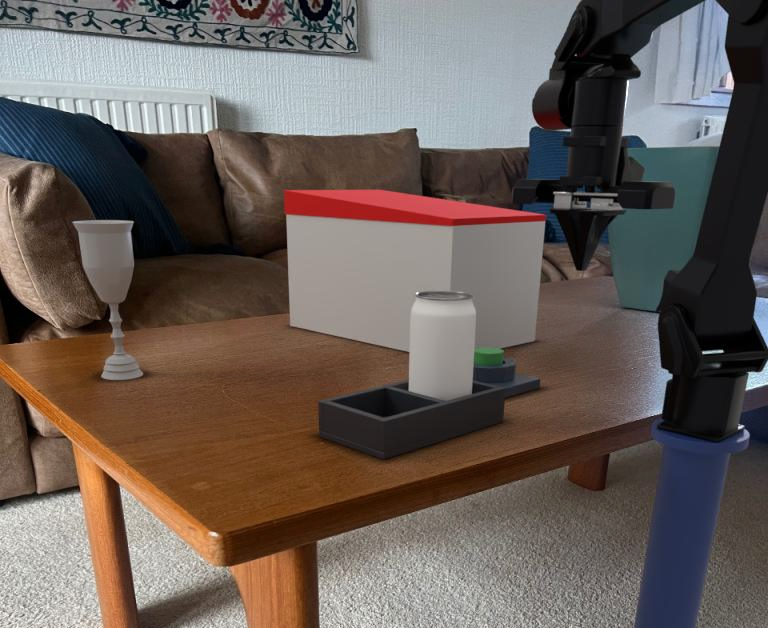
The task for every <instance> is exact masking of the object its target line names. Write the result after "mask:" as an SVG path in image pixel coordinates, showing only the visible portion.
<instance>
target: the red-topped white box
mask: <svg viewBox="0 0 768 628" xmlns="http://www.w3.org/2000/svg"><path fill="white" fill-rule="evenodd" d="M283 196H284V197H283V198H284V199H283V201H284V215H285V216H286V217H285V218H286V243H287V247H286V249H287V271H288V272H287V275H288V301H289V302H288V303H289V305H288V306H289V326H290V327H294V328H298V329H303V330H308V331H311V332H312V331H313V332H317V333H321V334H326V335H329V336H335V337H339V338H344V339H349V340H353V341H356V342H357V341H358V342H363V343H367V344H372V345H376V346H380V347H385V348H388V349H389V348H390V349H392V350H393V349H394V350H399V351H404V352H407V353H410V318H411V309H412V307H413V305H414V303H415V300H416V296H415V294H416V293H418V292H424V291H458V292H465V293H469V294H472V295H473V297H472V302H473V305H474V307H475V310H476V328H475V347H474V349H476V348H482V347H490V348H498V349H504V348H510V347H514V346H518V345H522V344H527V343H532V342H535V341H536V331H537V321H538V309H539V296H540V287H541V276H542V275H541V274H542V265H543V264H542V262H543V254H544V243H545V241H544V240H545V229H546V220H547V214H543V213H537V212H531V211H523V210H517V209H516V210H515V209H510V208H504V207H503V208H502V207H497V206H491V205H484V204H476V203H470V202H463V201H459V200H458V201H456V200H451V199H443V198H437V197H431V196H424V195H418V194H411V193H406V192H405V193H404V192H399V191H390V190H384V189H284V190H283Z"/></svg>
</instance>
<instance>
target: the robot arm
mask: <svg viewBox="0 0 768 628" xmlns="http://www.w3.org/2000/svg"><path fill="white" fill-rule="evenodd" d="M714 1H715V2H716V3H717V4H718V6H720V7H721V8H722V9H723V11H724V12H725V13H726V14H727V22H726V31H725V38H724V39H725V40H724V50H725V55H726V58H727V62H728V66H729V69H730V70H729V71H730V73H731V77H732V81H733V86H732V93H731V97H730V101H729V105H728V109H727V113H726V117H725V121H724V126H723V130H722V134H721V138H720V143H719V146H720V147H719V151H718V155H717V159H716V163H715V167H714V172H713V176H712V180H711V184H710V188H709V192H708V197H707V201H706V205H705V209H704V213H703V217H702V222H701V226H700V230H699V234H698V238H697V242H696V247H695V251H694V254H693V256H692V258H691V259H690V260H689V261H688V263H687V264H686V265H685V266H684V267H683V269H682V270H669V271H668V273H667V275H666V276H665V278H664V284H663V292H662V297H661V300H660V303H659V305H658V307H657V309H656V311H655V312H657V313H659V314H658V318H657V335H658V347H659V357H660V358H659V360H660V367H661V369H663V370H666V371H667V373H668V374H670V375H672V376H671V378H670V379H668V380H666V385H665V390H664V391H665V392H664V397H663V403H662V410H661V416H660V417H661V418H662V420H665V421H663V422H660V423H658V424H657V429H659V430H664V431H668V432H672V433H676V434H680V435H684V436H688V437H692V438H697V439H701V440H705V441H709V442H713V443H719V442H722V441H724V440H726V439H728V438H730V437H732V436H734V435H736V434H738V433H740V432H742V431H744V429H745V427H746V426H745V425H744V424H740V419H741V415H742V409H743V404H744V399H745V395H746V389H747V384H748V380H749V375H750V373H761V372H763V371H764V369H765V367H766V365H767V363H768V344H767V342H766V340H765V338H764V336H763V334H762V332H761V330H760V328H759V325H758V323H757V322H756V319H755V317H754V316H755V309H756V303H757V298H758V289H757V286H756V283H755V279H754V276H753V273H752V268H751V265H750V261H751V256H752V251H753V248H754V244H755V241H756V237H757V234H758V230H759V226H760V222H761V219H762V216H763V211H764V208H765V205H766V201H767V197H768V0H714ZM704 2H706V0H580V1H579V2H578V4H577V5H576V7H575V10H574V11H573V13H572V15H571V17H570V19H569V21H568V25H567V27H566V29H565V31H564V34H563V36H562V38H561V40H560V41H559V43H558V45H557V47H556V49H555V50H554V53H553V54H554V59H553V62H552V64H551V67H550V69H549V70H548V71H549V72H548V79H546V80H545V81H544V82H542V83H541V84H540V85H539V86H538V88H537V90H536V91H535V93H534V96H533V98H532V100H531V112H532V116H533V119H534V121H535V122H536V124H537V125H538V127H540V128H541V129H542V130H546V131H549V132H551V131H552V132H553V131H565V130H570V136H563V139H562V147H565V148H568V155H567V156H568V157H567V164H566V165H567V167H566V175H559V179H555V178H554V179H551V178H550V179H549V178H547V179H546V178H535V179H534V178H518V179H517V181H516V182H515V184H514V186H513V187H512V188H511V190H512V191H511V204H515V205H519V204H520V205H533V204H535V203H536V204H539V203H540V204H553V207H552V208H549V214H553V215H555V217H556V219H557V222H558V225H559V226H560V229H561V231H562V233H563V235H564V238H565V241H566V243H567V247H568V250H569V252H570V256H571V258H572V262H573V265H574V269H575V270H576V271H577V272H584V271H587V269H588V267H589V265H590V264H591V261H592V259H593V256H594V254H595V253H596V251H597V248H598V246H599V244H600V241H601V239H602V238H603V236H604V234H605V232H606V230H608V226H609V224H610V223H611V222H612V221H613V220H614V219H615V218H616V217H617V216H618V215H624V214H625V213H626V211H627V210H623V208H626V209H670V208H673V206H674V199H675V190H674V187H673V185H672V183H671V182H655V181H642V178H643V175H644V172H645V168H644V167H643V166H642V165H641V164H640V163H639V162H637V161H636V160H635V159H634V158H633V157H630V156H628V151H627V149H628V148H629V142H628V137H623V130H624V122H625V113H626V106H627V98H628V89H629V81H630V80H636V79H640V77H641V75H642V71H641V69H640V68H639V66H638V65H637V64H636V63H635V62H634V61H633V60H632V58H633V57H634V56H635V55H636V54H638V53H639V52H640V51H641V50H642V49H644V48H645V47H646V46H648V44H649V43H650V42H651V41H652V38H653V34H654V31H655V30H657V29H658V28H659V27H660V26H662V25H664V24H666V23H667V22H669V21H672V20H674V19H675V18H677V17H678V16H680V15H682V14H684V13H685V12H688V11H689V10H691V9H693V8H695V7H697V6H699V5H700V4H702V3H704ZM583 188H584V191H578V189H583ZM596 188H597V190H599V191H598V192H597V191H596ZM588 202H590V204H589V206H590V207H587V206H588V205H587V204H588ZM717 351H722V352H717ZM703 352H705V353H703ZM707 352H711V353H707ZM713 352H714V353H713Z"/></svg>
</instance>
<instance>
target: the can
mask: <svg viewBox="0 0 768 628" xmlns="http://www.w3.org/2000/svg"><path fill="white" fill-rule="evenodd" d="M415 296H416V300H415V303H414V305H413V307H412V309H411V318H410V352H408V354H409V355H408V357H409V359H408V380H409V391H410V392H414V393H418V394H422V395H425V396H429V397H433V398H436V399H440V400H444V401H449V400H452V399H456V398H460V397H463V396H467V395H471V394H472V381H473V364H474V347H475V328H476V310H475V307H474V305H473V302H472V297H473V295H472V294H469V293H465V292H458V291H424V292H418V293H416V294H415Z"/></svg>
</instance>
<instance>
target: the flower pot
mask: <svg viewBox="0 0 768 628" xmlns="http://www.w3.org/2000/svg"><path fill="white" fill-rule="evenodd" d="M719 147H720V145H717V146H715V145H714V146H708V145H705V146H703V145H702V146H699V145H698V146H697V145H696V146H663V147H662V146H657V147H655V146H653V147H628V149H627V151H628V156H630V157H633V158H634V159H635V160H636V161H637V162H639V163H640V164H641V165H642V166H643V167H644V168H645V172H644V175H643V178H642V181H655V182H671V183H672V185H673V187H674V190H675V199H674V206H673V208H670V209H626V208H623V210H627V211H626V213H625V214H624V215H618V216H617V217H616V218H615V219H614V220H613V221H612V222H611V223H610V224H609V226H608V227H607V232H608V233H607V235H608V248H609V249H608V250H609V257H610V263H611V269H612V276H613V281H614V285H615V289H616V293H617V296H618V300H619V304H620V306H621V307H622V308H626V309H634V310H641V311H649V312H656V309H657V307H658V305H659V303H660V300H661V297H662V292H663V284H664V278H665V276H666V275H667V273H668V271H669V270H682V269H683V267H684V266H685V265H686V264H687V263H688V261H689V260H690V259H691V258H692V256H693V254H694V251H695V247H696V242H697V238H698V234H699V230H700V226H701V222H702V217H703V213H704V209H705V205H706V201H707V197H708V192H709V188H710V184H711V180H712V176H713V172H714V167H715V163H716V159H717V155H718V151H719Z"/></svg>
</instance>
